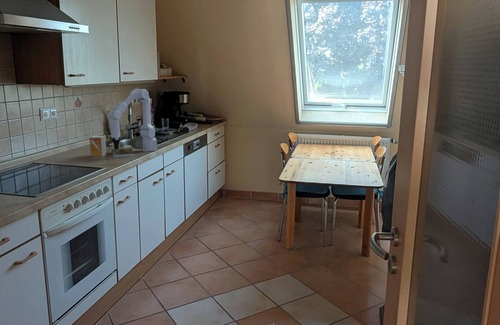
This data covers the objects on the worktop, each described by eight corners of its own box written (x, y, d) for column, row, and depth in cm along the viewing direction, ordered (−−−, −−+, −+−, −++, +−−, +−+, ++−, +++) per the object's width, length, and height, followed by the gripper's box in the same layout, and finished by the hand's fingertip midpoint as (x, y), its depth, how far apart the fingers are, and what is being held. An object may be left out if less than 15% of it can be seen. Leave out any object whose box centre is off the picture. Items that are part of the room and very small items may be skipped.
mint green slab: (130, 146, 290) (130, 141, 289) (132, 148, 283) (131, 142, 282) (111, 147, 285) (110, 142, 284) (112, 149, 278) (112, 144, 277)
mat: (133, 153, 282) (133, 153, 282) (135, 156, 274) (135, 155, 274) (112, 155, 277) (112, 154, 277) (113, 158, 269) (113, 157, 269)
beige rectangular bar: (115, 145, 288) (115, 142, 287) (117, 148, 277) (117, 145, 277) (112, 145, 287) (112, 142, 286) (114, 148, 276) (114, 145, 276)
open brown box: (130, 150, 292) (130, 144, 291) (132, 153, 282) (132, 147, 281) (111, 152, 287) (111, 145, 286) (113, 155, 277) (112, 148, 276)
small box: (90, 156, 273) (89, 137, 270) (95, 154, 280) (93, 135, 277) (102, 156, 272) (100, 137, 270) (106, 154, 279) (105, 135, 276)
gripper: (107, 127, 274) (109, 147, 277) (109, 130, 261) (111, 151, 264) (118, 126, 277) (120, 146, 280) (121, 129, 264) (122, 150, 267)
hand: (116, 148), depth 272 cm, fingers closed
